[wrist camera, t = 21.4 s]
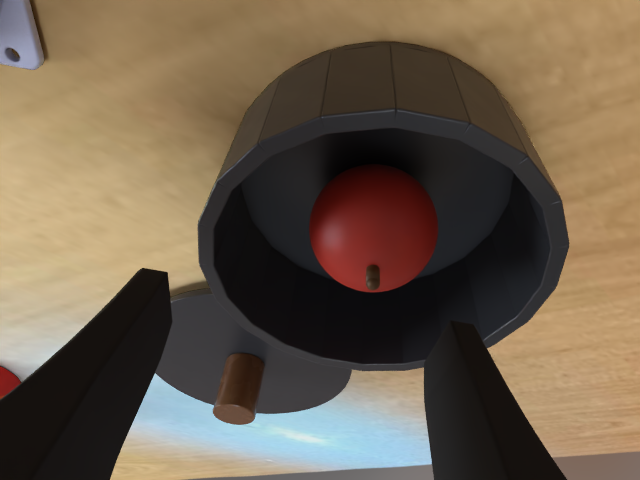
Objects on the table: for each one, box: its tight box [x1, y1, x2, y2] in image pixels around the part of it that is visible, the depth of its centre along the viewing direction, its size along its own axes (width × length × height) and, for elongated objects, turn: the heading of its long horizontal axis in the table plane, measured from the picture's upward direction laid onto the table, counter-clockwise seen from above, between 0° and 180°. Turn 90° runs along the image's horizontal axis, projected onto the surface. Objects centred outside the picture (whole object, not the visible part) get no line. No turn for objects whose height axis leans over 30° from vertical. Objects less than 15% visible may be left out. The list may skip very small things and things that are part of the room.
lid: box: [155, 288, 352, 425], centre depth 29 cm, size 14×14×5 cm
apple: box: [309, 164, 438, 292], centre depth 18 cm, size 5×5×6 cm
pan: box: [198, 42, 569, 371], centre depth 19 cm, size 13×13×6 cm
